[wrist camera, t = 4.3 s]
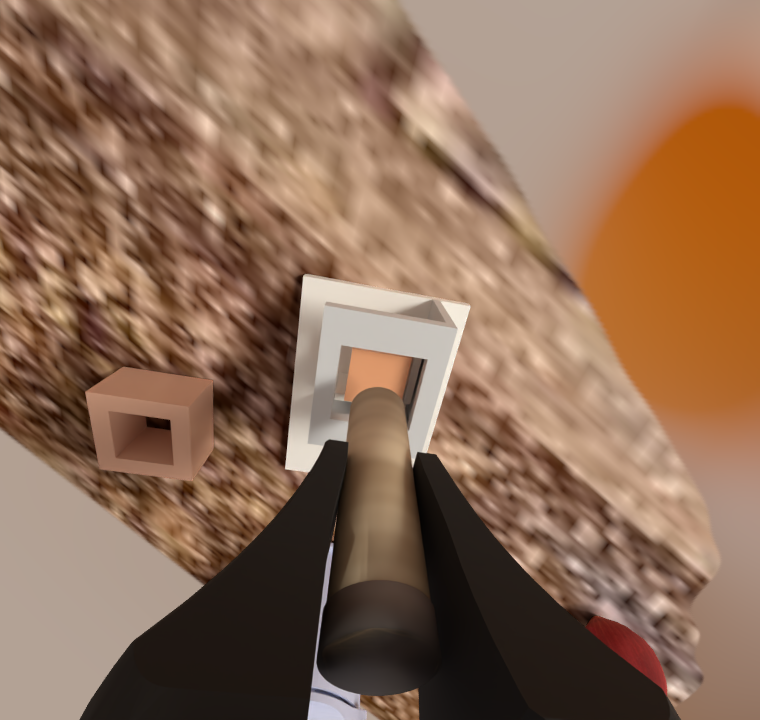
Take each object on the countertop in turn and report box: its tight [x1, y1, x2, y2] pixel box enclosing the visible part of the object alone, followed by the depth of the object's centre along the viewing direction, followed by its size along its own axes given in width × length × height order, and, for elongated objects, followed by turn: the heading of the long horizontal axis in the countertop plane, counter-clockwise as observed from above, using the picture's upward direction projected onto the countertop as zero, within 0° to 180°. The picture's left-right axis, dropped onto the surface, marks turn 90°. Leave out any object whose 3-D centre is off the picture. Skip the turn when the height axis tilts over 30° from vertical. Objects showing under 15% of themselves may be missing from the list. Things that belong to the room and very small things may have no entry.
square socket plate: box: [285, 274, 471, 472], centre depth 19 cm, size 13×9×5 cm
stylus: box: [316, 387, 442, 696], centre depth 10 cm, size 2×2×8 cm
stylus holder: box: [85, 367, 214, 481], centre depth 21 cm, size 5×5×3 cm
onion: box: [585, 616, 667, 696], centre depth 28 cm, size 6×6×8 cm
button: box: [344, 347, 412, 402], centre depth 18 cm, size 3×3×2 cm
